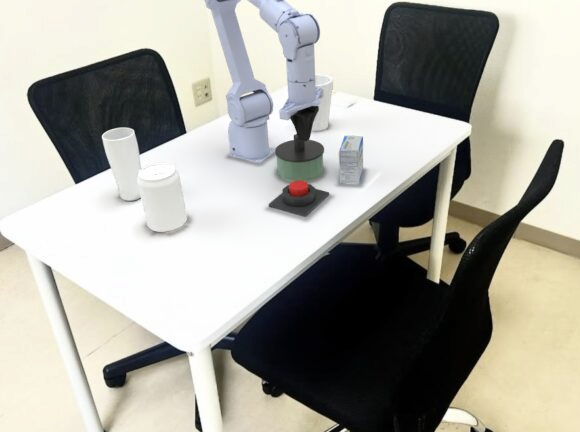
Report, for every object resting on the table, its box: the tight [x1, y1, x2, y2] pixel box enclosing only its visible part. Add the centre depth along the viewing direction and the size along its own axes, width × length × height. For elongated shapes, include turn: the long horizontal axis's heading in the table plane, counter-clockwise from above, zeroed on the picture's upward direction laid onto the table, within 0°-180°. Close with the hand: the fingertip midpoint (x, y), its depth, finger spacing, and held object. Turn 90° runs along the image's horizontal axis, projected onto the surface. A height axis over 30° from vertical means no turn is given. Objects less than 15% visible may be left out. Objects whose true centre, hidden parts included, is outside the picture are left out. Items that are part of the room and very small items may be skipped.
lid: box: [274, 133, 325, 162], centre depth 126 cm, size 11×11×4 cm
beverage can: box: [137, 162, 188, 233], centre depth 111 cm, size 8×8×12 cm
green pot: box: [276, 154, 324, 182], centre depth 129 cm, size 10×10×5 cm
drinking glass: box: [101, 127, 142, 202], centre depth 120 cm, size 7×7×15 cm
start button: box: [288, 181, 309, 196], centre depth 116 cm, size 4×4×2 cm
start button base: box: [268, 183, 330, 218], centre depth 117 cm, size 9×10×3 cm
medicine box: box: [338, 135, 364, 185], centre depth 124 cm, size 8×4×9 cm, turn 168°
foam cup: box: [311, 73, 334, 132], centre depth 149 cm, size 10×9×13 cm
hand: (304, 139), depth 121 cm, fingers closed
